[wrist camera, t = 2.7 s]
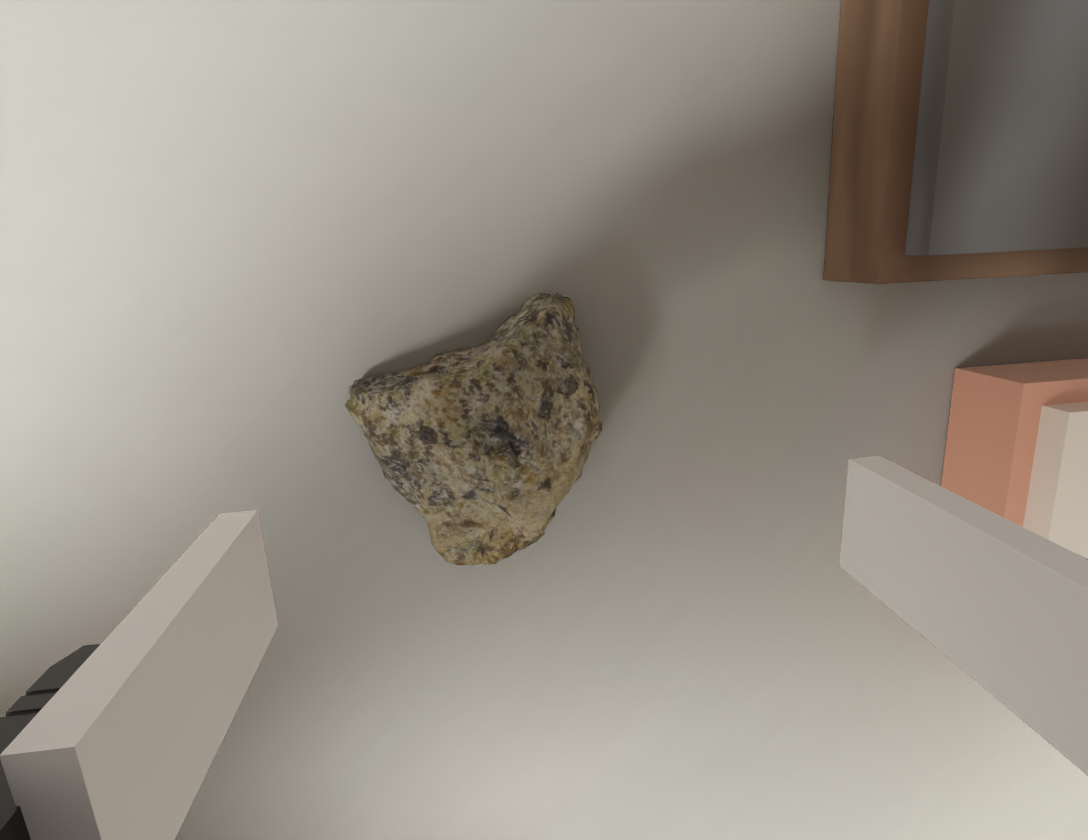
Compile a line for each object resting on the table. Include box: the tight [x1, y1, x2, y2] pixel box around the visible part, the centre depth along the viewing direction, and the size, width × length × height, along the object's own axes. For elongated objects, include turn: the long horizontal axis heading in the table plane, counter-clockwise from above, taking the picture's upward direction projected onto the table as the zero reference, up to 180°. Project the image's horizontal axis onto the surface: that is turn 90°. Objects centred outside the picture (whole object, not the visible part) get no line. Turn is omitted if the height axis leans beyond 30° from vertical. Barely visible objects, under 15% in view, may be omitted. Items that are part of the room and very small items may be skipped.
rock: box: [345, 293, 602, 565], centre depth 20 cm, size 7×8×4 cm
